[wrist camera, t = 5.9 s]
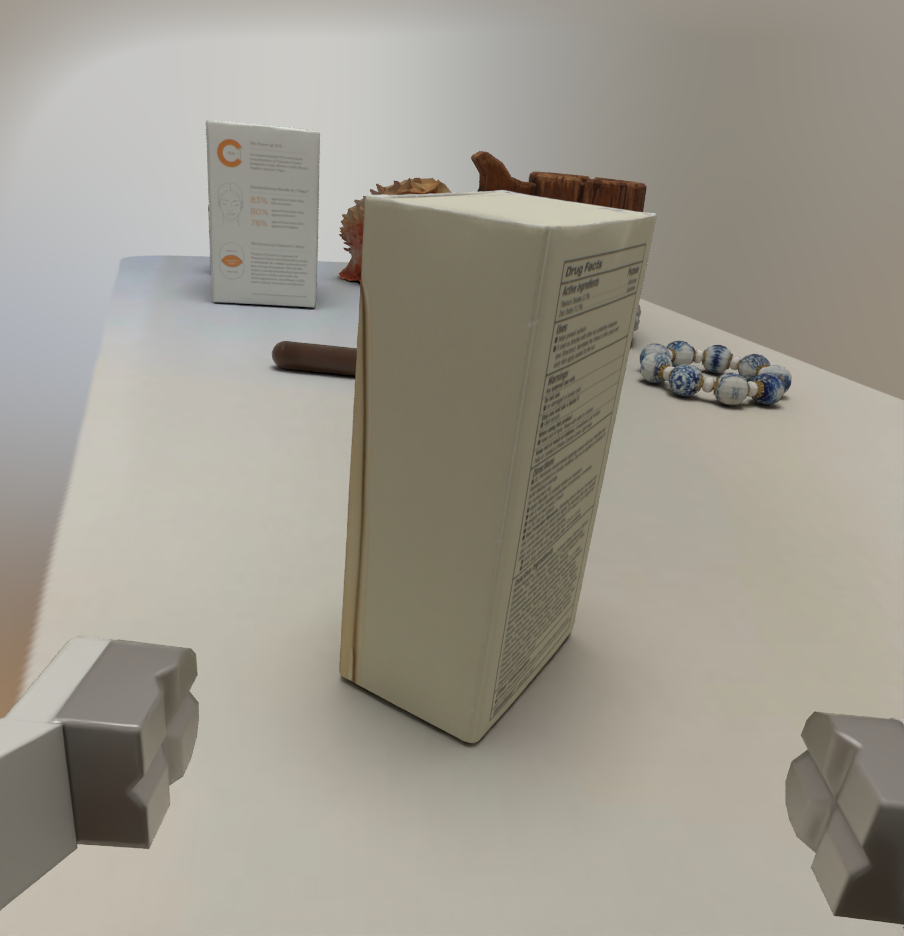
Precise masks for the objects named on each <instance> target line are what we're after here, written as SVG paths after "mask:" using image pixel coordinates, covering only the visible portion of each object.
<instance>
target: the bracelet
mask: <svg viewBox="0 0 904 936" xmlns="http://www.w3.org/2000/svg"><path fill="white" fill-rule="evenodd" d="M732 357H733V354H731V353H730V350H729V349H728V348H726V347H724V346H722V345H713V346H711V347H708V348H707V349H706V350H704V353H703V352H702V351H701V350H694V348H693V347H691V346H690V345H689V344H688V343H687V342H684V341H674V342H672V343H670V344H669V345H668V346H667V347H665V346H663V345H660V344H650V345H647V346H646V347H645V348H644V349H643V350H642V352H641V355H640V363H641V373H642V376H643V377H644V379H646V380H647V381H649V382H652V383H662V382H664V381H669V384H670V387H671V389H672V390H673V391H674V393H676V394H678V395H680V396H691V395H694V394H696V393H697V392H699V390H700V389H701V387H702V389H703V391H704V392H711V391H712V390H713V389H714V395H715V396H716V399H717V400H719V401H720V402H721V403H723V404H726V405H737V404H739V403H741V402H742V401H743V400H744V399H745V398H746V396H748V397H752V398H753V399H754V401H756V402H758V403H759V404H765V405H770V404H774V403H776V402H778V401H779V400H780V399H781V398H782V395H783V394H784V393H785V392H786V391H787V390H788V389H789V387H790V385H791V378H792V377H791V374H790V372H789V371H788V370H787V369H786V368H785V367H782V366H778V365H771V366H770V362H769V361H768V360H767V359H766V358H765V357H764V356H762V355H758V354H751V355H748V356H745V357H744V358H743V359H741V358H740V357H734V358H732ZM701 361H702V365H704V368H705V369H707V370H708V371H710V372H712V373H721V372H724V371H725V370H726V369H729V367H730V368H731V369H732V370H737V369H738V372H739V374H736V373H726V374H723V375H721V376H720V377H719V378H718V377H717V379H716V382H715V381H714V379H713V378H711V377H707V378H705V379H704V380H703V375H702V372H701V371H700V370H699V369H698V368H697V367H695V366H693V365H690V364H691V363H693V362H695V363H700V362H701Z"/></svg>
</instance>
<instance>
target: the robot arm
mask: <svg viewBox="0 0 904 936" xmlns="http://www.w3.org/2000/svg"><path fill="white" fill-rule="evenodd" d="M196 677H197V663H196V654H195V653H194V651H193V650H192V649H190V648H182V647H174V646H166V645H158V644H150V643H142V642H134V641H125V640H113V639H106V638H97V637H88V636H77V637H75V638H72V639H70V640H69V641H68V642H67V643H66V644H65V645H64V646H63V648H62V649H61V650H60V651H59V652H58V654H57V655H56V656H55V657H54V658H53V660H52V661H51V662H50V663H49V664H48V666H47V667H46V668H45V669H44V670H43V672H42V673H41V674H40V675H39V676H38V678H37V679H36V680H35V681H34V682H33V684H32V685H31V686H30V687H29V688H28V690H27V691H26V692H25V693H24V694H23V696H22V697H21V698H20V699H19V700H18V702H17V703H16V704H15V705H14V706H13V708H12V709H11V710H10V711H9V712H8V714H7V715H6V716H5V717H4V718H0V910H1V909H2V908H4V907H5V906H6V905H7V904H9V903H10V902H11V901H12V900H14V899H15V898H16V897H17V896H19V895H20V894H21V893H22V892H23V891H25V890H26V889H27V888H28V887H30V886H31V885H32V884H33V883H35V882H36V881H37V880H38V879H40V878H41V877H42V876H43V875H45V874H46V873H47V872H48V871H50V870H51V869H52V868H53V867H54V866H56V865H57V864H58V863H59V862H61V861H62V860H63V859H64V858H66V857H67V856H68V855H69V854H71V853H72V852H73V851H74V850H76V849H77V844H85V845H100V846H115V847H130V848H144V849H149V848H150V846H151V844H152V841H153V839H154V837H155V835H156V833H157V831H158V829H159V827H160V825H161V822H162V820H163V818H164V816H165V814H166V812H167V810H168V808H169V806H170V793H169V786H170V785H171V784H172V783H174V782H175V781H177V780H178V779H180V778H181V777H183V775H184V773H185V771H186V769H187V766H188V764H189V762H190V760H191V757H192V753H193V749H194V745H195V741H196V738H197V731H198V721H199V703H198V701H197V700H196V699H195V698H194V696H193V695H192V694H191V693H190V692H189V690H190V688H191V687H192V685H193V683H194V681H195V679H196ZM801 736H802V738H803V740H804V743H805V745H806V747H807V749H808V750H807V751H805V752H804V753H803V754H801V755H800V756H798V757H797V758H796V759H794V760H793V761H792V762H791V765H790V769H789V772H788V775H787V778H786V807H787V811H788V816H789V820H790V822H791V824H792V827H793V829H794V831H795V833H796V836H797V837H798V838H799V839H800V840H801V841H802V842H804V843H805V844H806V845H807V846H808V847H809V848H811V849H812V850H813V851H814V852H815V853H816V855H815V858H814V861H813V863H812V866H811V868H812V870H813V872H814V875H815V877H816V879H817V881H818V883H819V885H820V887H821V889H822V892H823V894H824V896H825V898H826V900H827V902H828V904H829V906H830V908H831V911H832V913H833V915H834V916H841V917H849V918H857V919H865V920H873V921H881V922H889V923H896V924H904V719H901V718H890V719H886V718H876V717H865V716H855V715H844V714H834V713H823V712H814V713H813V714H812V715H811V716H810V717H809V718H808V719H807V721H806V723H805V726H804V729H803V731H802V734H801ZM903 928H904V927H903Z"/></svg>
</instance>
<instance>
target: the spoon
mask: <svg viewBox="0 0 904 936" xmlns="http://www.w3.org/2000/svg"><path fill="white" fill-rule="evenodd" d="M272 358H273V361H274V362H275V364H276V365H277V366H279V367H281V368H285V369H294V370H304V371H313V372H323V373H333V374H342V375H352V376H356V360H357V348H348V347H338V346H328V345H319V344H309V343H299V342H290V341H283V342H280V343H278V344H276V346H275V347H274V348H273V351H272Z"/></svg>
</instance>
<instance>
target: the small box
mask: <svg viewBox="0 0 904 936" xmlns="http://www.w3.org/2000/svg"><path fill="white" fill-rule="evenodd" d="M206 135H207V161H208V193H209V226H210V258H211V286H212V300H213V302H224V303H245V304H264V305H282V306H300V307H316V286H317V256H318V255H317V254H318V208H319V205H318V204H319V153H320V133H319V132H318V131H315V130H307V129H298V128H290V127H280V126H270V125H260V124H249V123H238V122H225V121H214V120H207V121H206Z"/></svg>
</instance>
